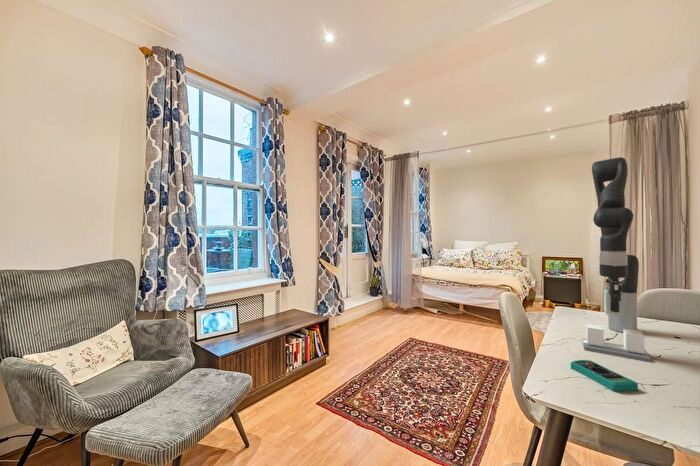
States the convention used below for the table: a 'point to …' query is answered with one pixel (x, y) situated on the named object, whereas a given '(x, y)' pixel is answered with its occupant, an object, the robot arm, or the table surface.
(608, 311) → the block
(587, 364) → the digital multimeter
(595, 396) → the table surface
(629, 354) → the rail panel
